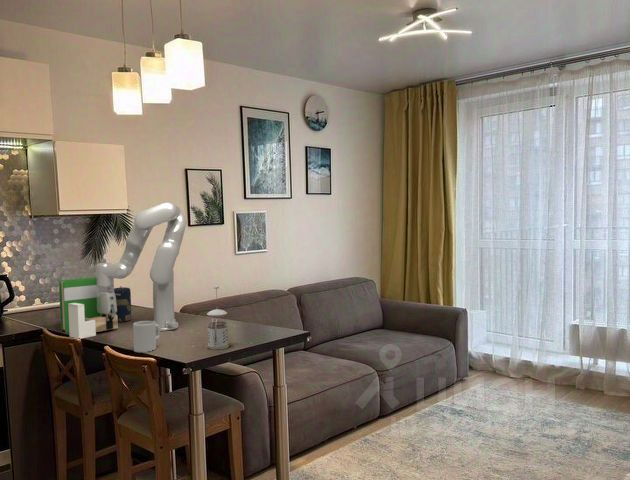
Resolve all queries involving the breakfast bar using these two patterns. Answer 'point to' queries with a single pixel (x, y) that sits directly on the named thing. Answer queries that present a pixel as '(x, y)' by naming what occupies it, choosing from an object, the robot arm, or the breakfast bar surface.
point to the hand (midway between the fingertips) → (106, 327)
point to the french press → (217, 328)
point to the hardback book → (77, 298)
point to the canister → (123, 303)
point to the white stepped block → (80, 322)
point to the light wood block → (103, 322)
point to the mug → (145, 336)
